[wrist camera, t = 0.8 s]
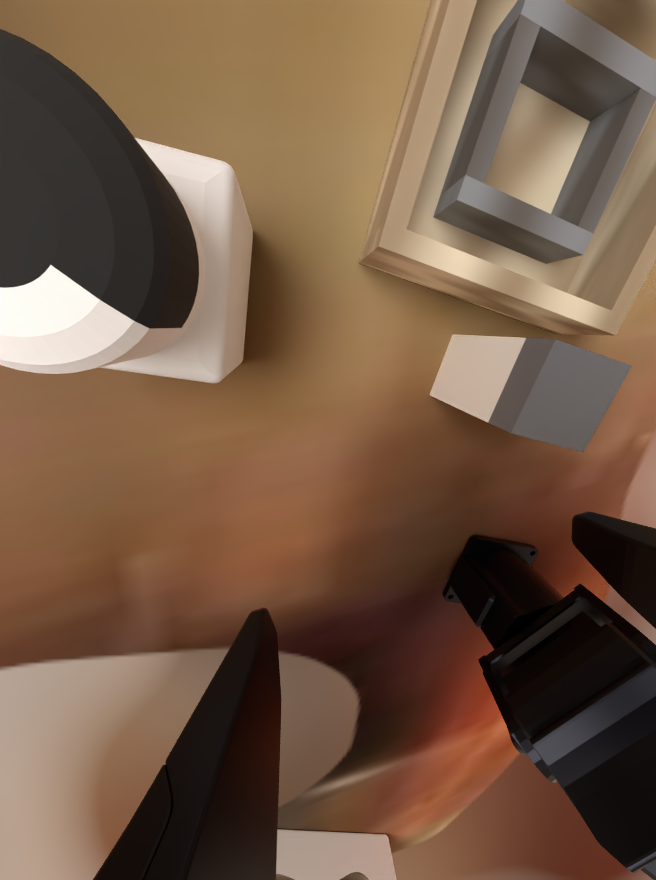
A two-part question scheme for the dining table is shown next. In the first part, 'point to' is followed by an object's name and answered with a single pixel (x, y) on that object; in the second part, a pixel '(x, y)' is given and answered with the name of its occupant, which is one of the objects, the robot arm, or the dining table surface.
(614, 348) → the dining table surface
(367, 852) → the gable box
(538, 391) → the grey rectangular prism
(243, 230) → the medicine bottle
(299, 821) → the dining table surface
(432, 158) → the socket box
